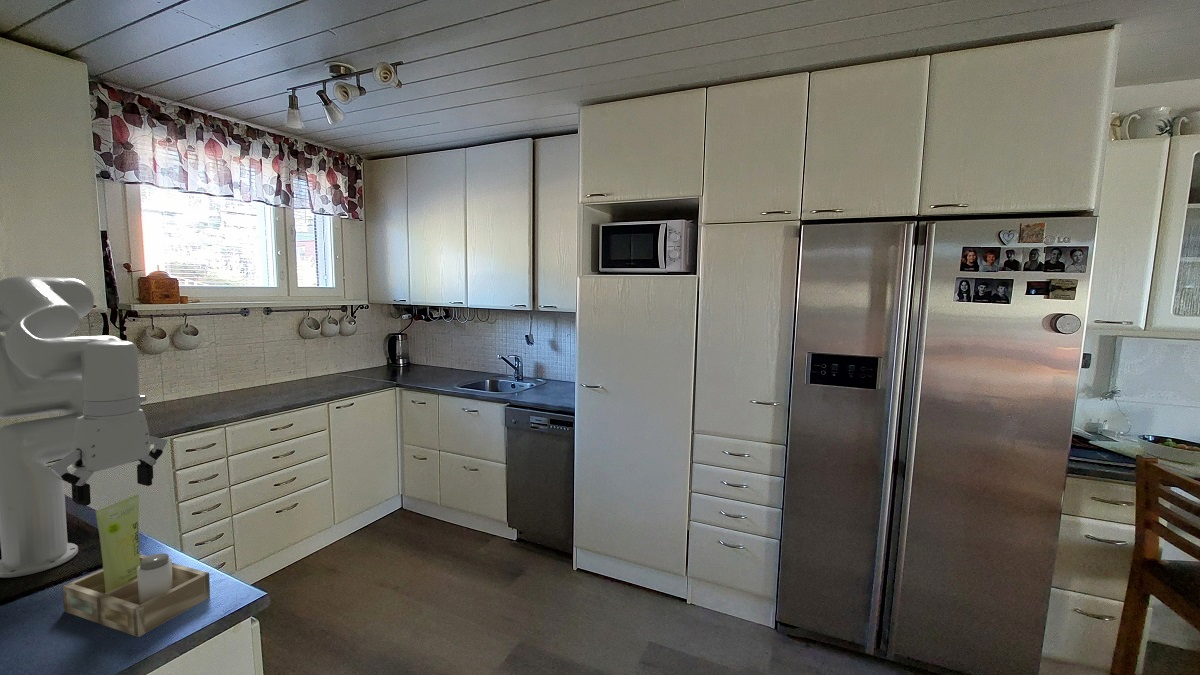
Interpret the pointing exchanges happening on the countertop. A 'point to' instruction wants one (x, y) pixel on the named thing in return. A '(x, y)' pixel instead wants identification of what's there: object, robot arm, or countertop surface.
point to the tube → (119, 541)
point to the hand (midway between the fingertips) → (115, 493)
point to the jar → (154, 577)
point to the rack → (135, 600)
